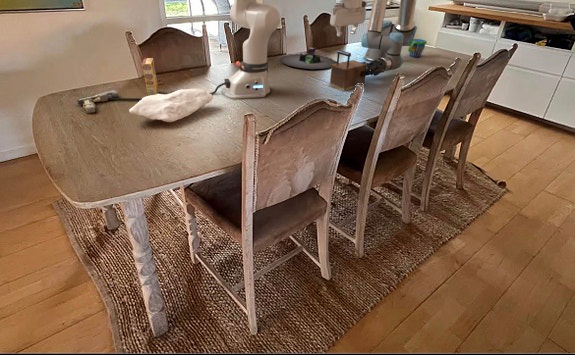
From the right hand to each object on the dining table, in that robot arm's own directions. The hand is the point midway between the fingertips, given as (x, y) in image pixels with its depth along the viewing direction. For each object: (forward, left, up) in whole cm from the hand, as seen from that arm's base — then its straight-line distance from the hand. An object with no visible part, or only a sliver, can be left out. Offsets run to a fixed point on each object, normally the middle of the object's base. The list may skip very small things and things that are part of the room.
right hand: (353, 71), depth 187 cm
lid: (+3, -2, +3) cm, 5 cm away
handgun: (+84, -85, -7) cm, 120 cm away
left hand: (+8, -4, +19) cm, 21 cm away
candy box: (+65, -74, -7) cm, 99 cm away
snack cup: (-81, +19, -7) cm, 84 cm away
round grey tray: (-26, -36, -7) cm, 45 cm away
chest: (+3, -1, -7) cm, 8 cm away
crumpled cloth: (+78, -52, -7) cm, 94 cm away
